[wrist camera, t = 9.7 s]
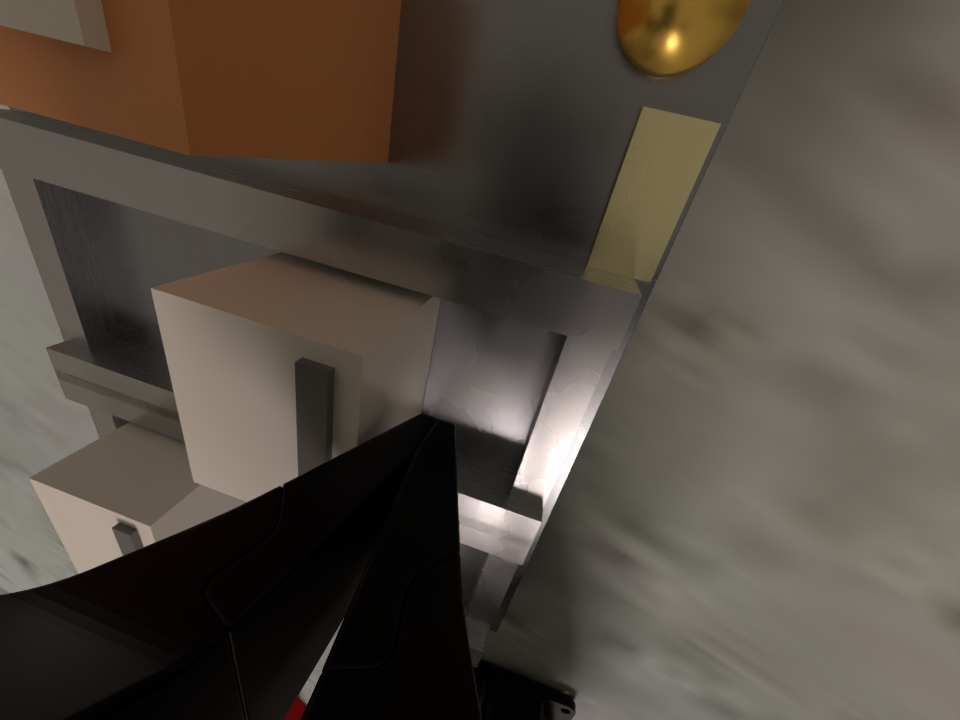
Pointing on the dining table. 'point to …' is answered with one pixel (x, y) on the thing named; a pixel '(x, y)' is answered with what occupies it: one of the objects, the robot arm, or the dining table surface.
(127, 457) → the block
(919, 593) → the dining table surface
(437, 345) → the panel
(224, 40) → the orange box
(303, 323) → the block
